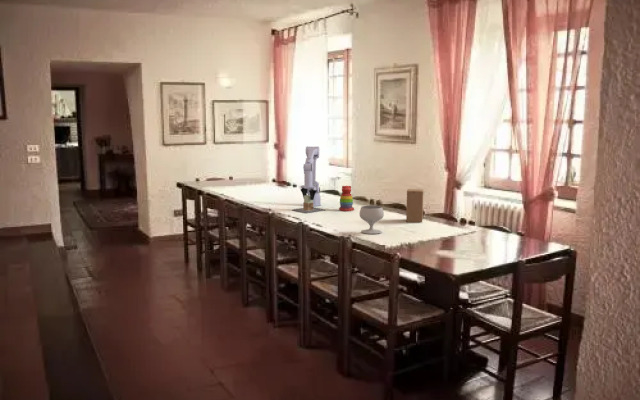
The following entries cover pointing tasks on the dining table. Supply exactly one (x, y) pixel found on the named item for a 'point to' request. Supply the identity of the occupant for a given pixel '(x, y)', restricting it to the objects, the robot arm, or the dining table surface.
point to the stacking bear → (346, 199)
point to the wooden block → (414, 205)
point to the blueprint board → (308, 210)
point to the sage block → (307, 199)
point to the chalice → (371, 217)
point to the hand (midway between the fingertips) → (308, 199)
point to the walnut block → (307, 206)
